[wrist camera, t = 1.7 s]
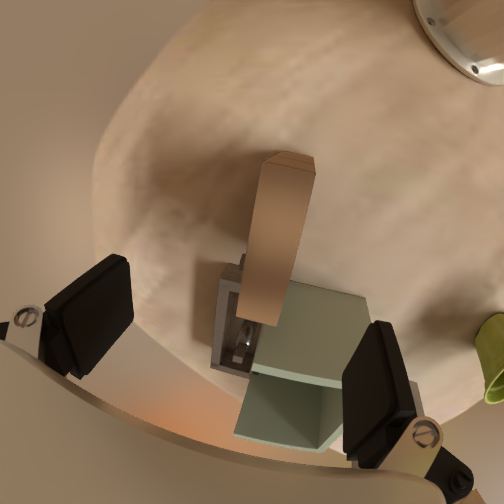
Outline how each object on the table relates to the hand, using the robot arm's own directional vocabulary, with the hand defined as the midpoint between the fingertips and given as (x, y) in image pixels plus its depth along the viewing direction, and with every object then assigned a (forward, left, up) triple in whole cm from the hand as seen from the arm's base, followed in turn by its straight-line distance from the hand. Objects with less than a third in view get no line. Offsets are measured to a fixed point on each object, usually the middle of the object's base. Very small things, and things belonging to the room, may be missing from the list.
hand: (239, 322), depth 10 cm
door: (0, 0, -15) cm, 15 cm away
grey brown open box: (+13, -1, -15) cm, 20 cm away
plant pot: (+8, +30, -15) cm, 35 cm away
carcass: (+13, +5, -15) cm, 20 cm away
